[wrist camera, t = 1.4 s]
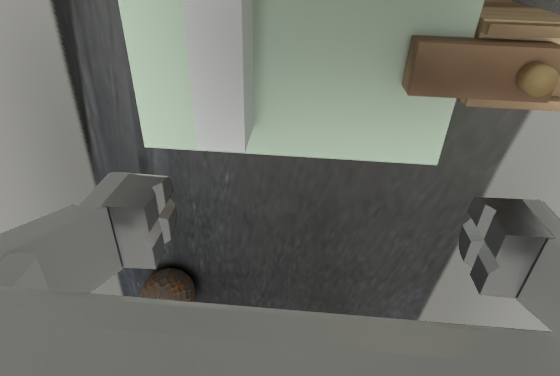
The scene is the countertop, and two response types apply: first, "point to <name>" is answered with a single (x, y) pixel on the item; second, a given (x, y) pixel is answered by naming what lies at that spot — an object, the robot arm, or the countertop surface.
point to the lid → (289, 76)
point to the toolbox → (517, 26)
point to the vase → (169, 286)
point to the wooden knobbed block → (482, 68)
